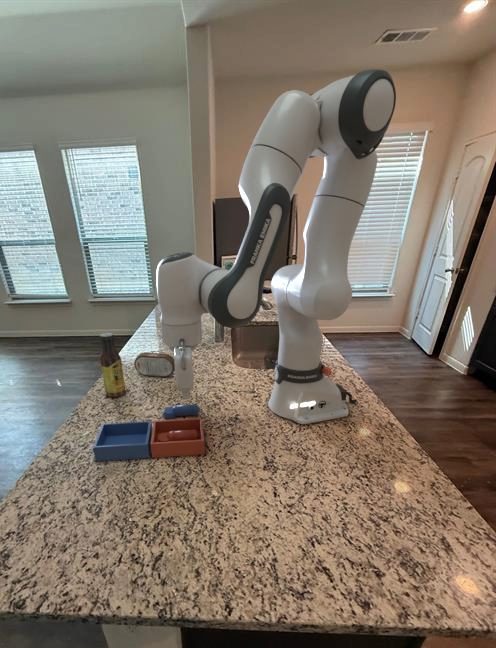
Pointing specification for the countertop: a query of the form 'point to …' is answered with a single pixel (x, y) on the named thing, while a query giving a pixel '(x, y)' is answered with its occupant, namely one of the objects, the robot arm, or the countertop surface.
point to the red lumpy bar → (178, 436)
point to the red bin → (177, 446)
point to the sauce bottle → (111, 367)
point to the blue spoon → (181, 410)
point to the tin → (155, 364)
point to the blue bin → (123, 441)
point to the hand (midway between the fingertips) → (185, 388)
